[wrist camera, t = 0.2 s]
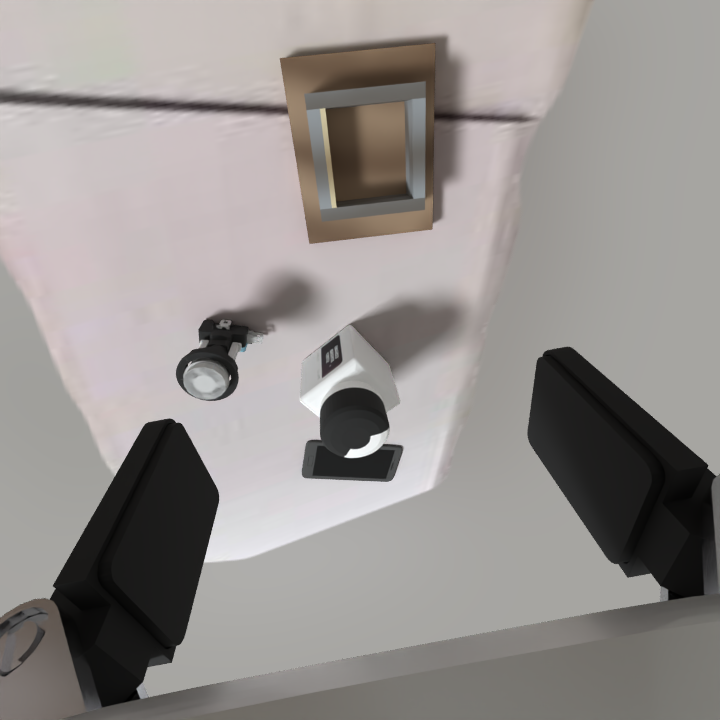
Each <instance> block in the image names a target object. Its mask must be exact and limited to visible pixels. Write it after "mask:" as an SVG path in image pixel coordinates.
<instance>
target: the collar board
mask: <svg viewBox="0 0 720 720" xmlns="http://www.w3.org/2000/svg"><path fill="white" fill-rule="evenodd" d="M280 62H281V69H282V75H283V81H284V87H285V94H286V100H287V106H288V112H289V119H290V125H291V131H292V137H293V144H294V150H295V156H296V162H297V169H298V175H299V181H300V187H301V194H302V200H303V206H304V212H305V219H306V225H307V231H308V237H309V244H312V243H321V242H329V241H338V240H346V239H355V238H363V237H372V236H380V235H389V234H397V233H406V232H414V231H423V230H431V229H432V223H433V158H434V93H435V43H431V44H421V45H411V46H401V47H390V48H380V49H370V50H360V51H349V52H339V53H329V54H319V55H309V56H298V57H288V58H280Z"/></svg>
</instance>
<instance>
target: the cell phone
mask: <svg viewBox="0 0 720 720" xmlns="http://www.w3.org/2000/svg"><path fill="white" fill-rule="evenodd" d="M401 454H402V447H401V446H396V445H384V444H383V445H382V446H381V447H380V448H379V449H378V450H376V451H375V452H373V453H371V454H369V455H367V456H363V457H358V458H346V457H342V456H339V455H336V454H334V453H333V452H331V451H329V450H328V449H327V448H326V447H325V446H324V444H323V443H322V441H320V440H310V441H308V442H307V443H306V448H305V454H304V461H303V468H302V476H303V477H304V478H312V479H335V480H358V481H381V482H388V481H391V480H392V479H393V477H394V475H395V472H396V469H397V466H398V463H399V460H400V457H401Z"/></svg>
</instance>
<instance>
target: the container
mask: <svg viewBox="0 0 720 720" xmlns="http://www.w3.org/2000/svg"><path fill="white" fill-rule="evenodd" d="M300 402H301V403H302V404H303V405H305V406H306V407H307V408H308V409H310V410H311V411H312V412H313V413H315V414H316V415H317V416H318V417H319V418H320V437H321V440H322V443H323V444H324V446H325V447H326V448H327V449H328V450H329V451H331V452H333V453H334V454H336V455H339V456H342V457H346V458H358V457H363V456H367V455H369V454H371V453H373V452H375V451H376V450H378V449H379V448H380V447H381V446H382V445H383V444H384V443H385V441H386V440H387V438H388V435H389V431H390V428H389V422H388V418H387V414H386V413H387V412H388V411H390V410H391V409H393V408H394V407H395V406H397V405H398V404H399V403H400V398H399V395H398V391H397V388H396V385H395V382H394V379H393V375H392V372H391V369H390V366H389V364H388V363H387V362H386V361H385V360H384V359H383V358H382V356H381V355H380V354H379V353H378V352H377V351H376V350H375V349H374V348H373V347H372V346H371V345H370V344H369V343H368V342H367V341H366V340H365V339H364V338H363V337H362V336H361V335H360V334H359V333H358V331H357V330H356V329H355V328H354V327H353V326H352V325H348V326H346V327H345V328H344V329H343V330H341V331H340V332H339V333H338V334H336V335H335V336H334V337H333V338H331V339H330V340H329V341H327V342H326V343H325V344H324V345H322V346H321V347H320V348H319V349H317V350H316V351H315V352H314V353H312V354H311V355H310V356H308V357H307V358H306V359H305V360H303V362H302V369H301V388H300Z"/></svg>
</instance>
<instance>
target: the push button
mask: <svg viewBox="0 0 720 720" xmlns="http://www.w3.org/2000/svg"><path fill="white" fill-rule="evenodd" d="M223 322H228V323H223ZM231 322H232V321H230V320H221V322H220V324H213V321H212V320H204V321H203V323H202V325H201V326H200V328H199V343H200V348H199V349H194V350H192V351H191V352H190V353H189V354H187V355H186V356H185V357H183V358H182V360H181V361H180V362H179V364H178V366H177V369H176V377H177V381H178V383H179V385H180V386H181V387H182V389H183V390H184V391H186V392H187V393H188V394H190V395H191V396H193V397H195V398H198V399H201V400H207V401H216V400H221V399H224V398H226V397H228V396H229V395H231V394H232V393H233V392H234V390H235V389H236V387H237V384H238V379H239V377H238V372H237V370H238V367H237V365H236V362H235V359H236V356H237V353H238V352H244V351H245V350H246V347H247V344H252V343H261V344H262V340H263V333H256V332H253V331H248V327H246V326H235V325H230V324H231ZM257 335H260V336H261V337H257ZM256 339H259V340H260V341H256ZM191 361H192V363H191V364H190V365H189V366H188V363H189V362H191ZM230 375H231V380H230V381H229V376H230Z"/></svg>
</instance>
